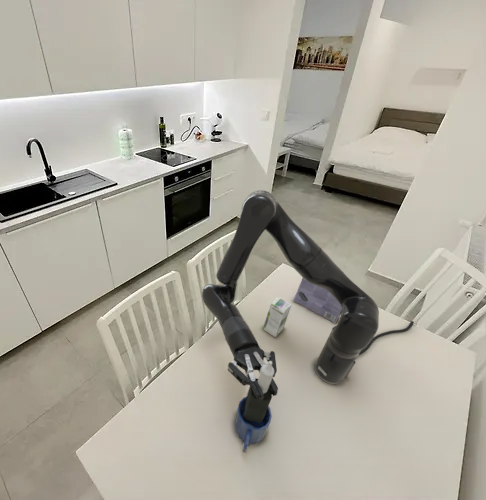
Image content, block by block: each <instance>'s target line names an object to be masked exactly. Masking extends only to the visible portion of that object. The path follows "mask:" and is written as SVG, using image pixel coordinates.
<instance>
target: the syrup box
mask: <svg viewBox="0 0 486 500" xmlns="http://www.w3.org/2000/svg"><path fill="white" fill-rule="evenodd" d="M291 309H292V304H291V303H289V302H288V301H286V300H284V299H283V298H281V297H277V298H276V299H275V300H273V302H271V303H270V305H269V307H268V311H267V315H266V318H265V321H264V325H263V330H264V331H265V332H267V333H268V334H270V335H271V336H272V337H274V338H277V336H279V334H281V332H282V331H283V330H284V328H285V325H286V322H287V319H288V316H289V314H290V311H291Z"/></svg>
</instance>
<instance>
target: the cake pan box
mask: <svg viewBox="0 0 486 500" xmlns="http://www.w3.org/2000/svg"><path fill="white" fill-rule="evenodd" d="M295 293H296V294H295V296H294V298H293V302H294V303H297V304H298V305H300V306H302V307H304V308H306V309H308V310H309V311H311V312H313V313H315V314H316V315H319V316H321V317H323V318H324V319H327V320H329V321H330V322H332V323H334V324H337V321H339V319H340V317H341V311H342V306H341V304H340V303H339V302H338V300H337V299H336V298H335V297H334V296H333V295H332V294H331V293H330V292H329V291H328V290H326V289H324V288H322V287H319V286H316V285H314V284H311V283H309V282H308V281H306V280H305V279H304V278H303V277H302V278H301V281H300V283H299V286H298V288H297V290H296V292H295Z"/></svg>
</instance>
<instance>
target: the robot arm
mask: <svg viewBox="0 0 486 500" xmlns="http://www.w3.org/2000/svg"><path fill="white" fill-rule="evenodd" d="M265 231H266V232H267V233H268V234H269V235H270V236H271V237H272V238H273V240H274V241H275V242H276V244H277V246H278V247H279V249H280V251H281V253H282V254H283V256H284V257H285V259H286V261H287V262H288V263H289V265H290V266H291V267H292V268H293V269H294V270H295V271H296V273H297V274H298V275H299V276H300V277H302V278H304V279H305V280H306V281H308V282H309V283H311V284H314V285H316V286H319V287H322V288H324V289H326V290H328V291H329V292H330V293H331V294H332V295H333V296H334V297H335V298H336V299H337V300H338V302H339V303H340V304H341V306H342V311H341V314H340V316H339V319H338V322H337V323H336V324H335V325H334V326H333V327H332V329H331V331H330V333H329V335H328V337H327V339H326V341H325V343H324V345H323V348H322V349H321V352H320V353H319V355H318V357H317V359H316V361H315V362H314V366H313V367H314V368H313V369H314V372H315V374H316V375H317V376H318V378H319V379H321V380H322V381H323V382H325V383H326V384H330V385H339V384H341V383H342V382H343V380H344V379H346V378H347V377H348V376H349V374H350V372H351V371H352V370H353V368H354V366H355V365H356V359H357V358H358V356H360V355H361V354H363V353H365V352H366V351H368V349H370V347H371V346H372V344H373V343H374V342H375V341H376V340H377V339H379V338H381V337H383V336H387V335H391V334H396V333H404V332H407V331H409V330H410V329H411V328H412V327H413V325H414V324H415V321H413V320H411V321H410V323H409V324H408V325H407V327H405V328H402V329H393V330H392V329H391V330H389V331H384V332H381V333H379V334H377V332H378V329H379V324H380V321H379V320H380V319H379V317H380V310H379V306H378V304H377V303H376V301H375V300H374V299H373V298H372V297H371V296H369V294H368V293H366V291H364V290H363V289H362V288H361V287H360V286H358V285H357V284H356V283H355V282H354V281H352V280H351V278H349V277H348V275H347V274H346V273H345V272H344V271H343V270H342V269H341V268H340V267H339V266H338V265H337V264H336V263H335V262H334V261H333V259H332V258H331V256H329V255H328V254H327V253H326V251H325V250H324V249H323V248H322V247H321V246H320V245H319V244H318V243H317V242H316V241H315V240H314V239H312V237H311V236H309V234H308V233H306V232H305V231H304V230H303V229H302V228H301V227H300V226H299V225H298V224H296V223H295V222H294V221H293V219H292V217H290V216H289V214H288V213H287V212H286V211H285V209H284V208H283V206H282V205H281V204H280V203H279V201H278V200H277V198H276V197H275V196H274V194H272V193H271V192H269V191H268V190H263V189H258V190H254V191H252V192H250V193H249V194H248V195H247V197H246V198H245V199H244V201H243V202H242V205H241V212H240V216H239V219H238V224H237V228H236V230H235V233H234V236H233V238H232V240H231V242H230V244H229V246H228V248H227V250H226V252H225V253H224V256H223V257H222V260H221V262H220V264H219V267H218V269H217V271H216V275H215V277H216V279H217V281H218V282H220V283H221V284H216V283H209V284H206V285H205V286H204V287H203V289H202V291H201V299H202V301H203V305H205V307H206V308H207V309H208V310H209V311H210V313H211V315H213V316H214V317H215V318H216V319H217V321H218V324H219V326H220V328H221V331H222V334H223V336H224V340H225V341H226V343H227V345H228V347H229V350H230V352H231V354H232V356H233V361H229V362H228V364H227V372H229V373H230V375H232V376H233V377H234V378H235V379H236V380H237V381H238V382H239V383H240V385H242V386H244V387H245V386H249V387H250V386H251V388H252V390H253V392H254V394H255V396H256V397H257V398H259V399H260V400H263V398H264V394H263V392H262V390H261V388H260V386H259V384H258V382H257V381H255V378H256V376H255V373H254V372H255V371H257V372H258V373H259V374H260V371H261V368H262V366H263V365H265V364H266V362H267V363H269V361H272V367H273V368H274V375H273V378H272V380H271V383H270V386H269V389H270V391H271V393H272V397H276V396H277V395H278V392H279V387H278V385H277V383H276V381H275V380H274V378H275V376H276V374H277V372H278V369H277V359H276V352H275V351H273V350H271V351H270V352H266V351H265V350H263V349H262V348H261V346H260V345H259V343H258V341H257V339H256V337H255V335H254V334H253V331H252V330H251V328H250V327H249V324H248V323H247V322H246V320H245V319H244V317H243V315H242V313H241V312H240V310H239V308H238V307H237V306H236V305H235V304H234V301H235V298H236V292H237V286H238V281H239V279H240V277H241V276H242V273H243V272H244V269H245V267H246V266H247V263H248V260H249V258H250V255H251V253H252V251H253V249H254V247H255V245H256V244H257V242H258V240H259V239H260V237H261V236H262V235H263V233H264V232H265ZM376 334H377V335H376ZM264 360H266V362H265V361H264ZM239 368H241V369H242V370H244V372H242V370H241V369H239Z"/></svg>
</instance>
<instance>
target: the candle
mask: <svg viewBox="0 0 486 500" xmlns="http://www.w3.org/2000/svg"><path fill="white" fill-rule="evenodd" d="M273 375H274V368H273V367H272V361H269V362H267V363H265V365H263V366H262V368H261V371H260V373H259V375H258V378H256V377H255V381H257V382H258V384H259V386H260V388H261V390H262V392H263V394H264V398H263V400H260V399H259V398H257V397H256V396H255V394H254V392H253V390H252V388H251V386H250V385H249V388H248V391H247V394H246V396H247V398H246V401H245V413H244V417H245V419H246V420H249V421H253V422H258V423H261V422H262V421H263V418H264V416H265V413H266V411H267V408H268V406H269V407H270V403H271V401H272V398H273V395H272V393H271V391H270V389H269V386H270V383H271V380H272V378H273V379H274V377H273Z"/></svg>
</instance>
